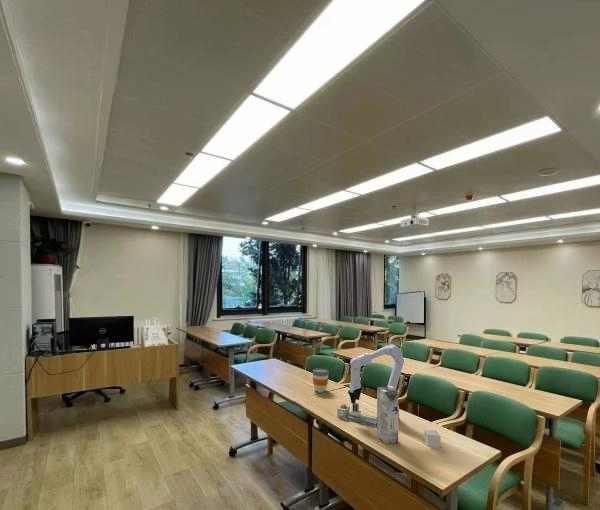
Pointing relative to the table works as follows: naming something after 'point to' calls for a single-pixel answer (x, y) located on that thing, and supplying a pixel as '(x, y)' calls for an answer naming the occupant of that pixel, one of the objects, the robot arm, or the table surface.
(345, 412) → the end cabinet
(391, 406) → the juice carton
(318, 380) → the reusable coffee cup
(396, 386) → the robot arm
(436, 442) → the light grey cube
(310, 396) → the table surface
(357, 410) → the carriage
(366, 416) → the rail board
